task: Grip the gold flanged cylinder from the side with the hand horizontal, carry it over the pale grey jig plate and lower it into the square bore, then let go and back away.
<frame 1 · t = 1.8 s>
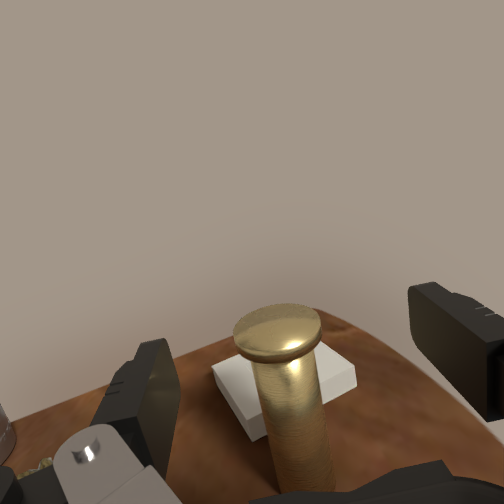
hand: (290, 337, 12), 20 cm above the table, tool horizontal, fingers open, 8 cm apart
jig: (282, 385, 39), on the table
gold flanged cylinder: (306, 481, 28), on the table
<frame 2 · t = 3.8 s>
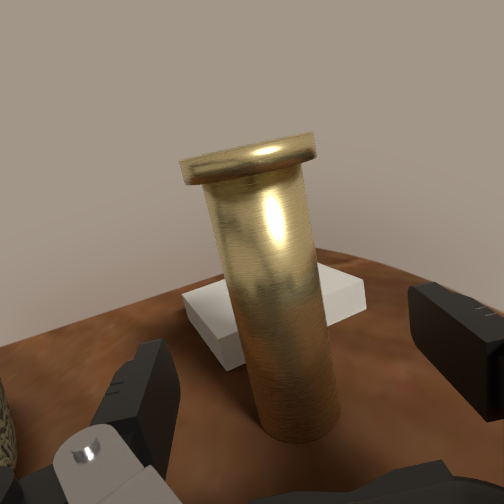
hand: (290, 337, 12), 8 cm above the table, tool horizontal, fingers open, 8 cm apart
jig: (270, 314, 31), on the table
gold flanged cylinder: (299, 409, 20), on the table
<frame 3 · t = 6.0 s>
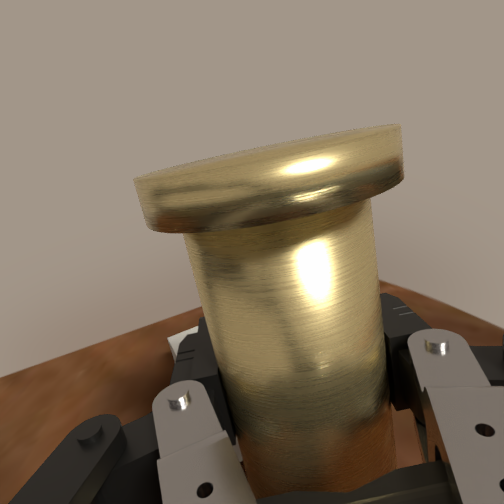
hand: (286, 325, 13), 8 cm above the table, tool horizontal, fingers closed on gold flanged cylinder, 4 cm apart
jig: (283, 367, 24), on the table
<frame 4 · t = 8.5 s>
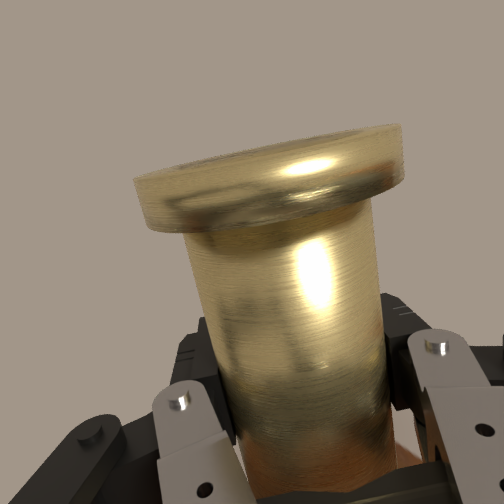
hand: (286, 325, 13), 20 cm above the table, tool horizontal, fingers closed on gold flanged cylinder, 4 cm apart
when the fingers open (9 cm above the table, at t = 11.2 s): gold flanged cylinder drops 1 cm, resting in jig.
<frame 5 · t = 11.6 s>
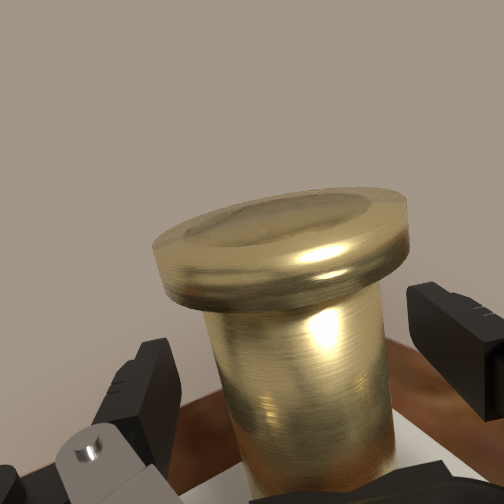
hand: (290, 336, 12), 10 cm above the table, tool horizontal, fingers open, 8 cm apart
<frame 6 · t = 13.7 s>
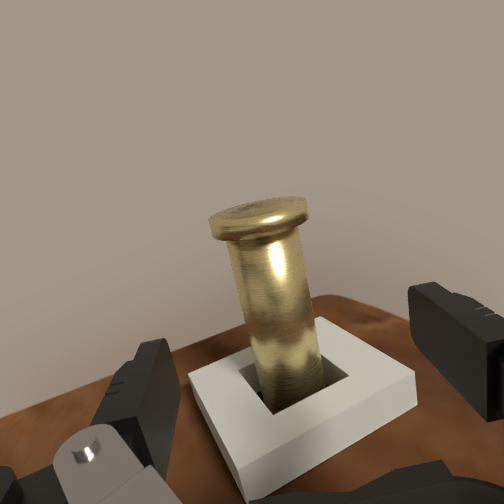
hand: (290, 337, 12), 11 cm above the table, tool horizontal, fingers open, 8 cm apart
jig: (296, 402, 25), on the table
gold flanged cylinder: (296, 403, 25), resting in jig
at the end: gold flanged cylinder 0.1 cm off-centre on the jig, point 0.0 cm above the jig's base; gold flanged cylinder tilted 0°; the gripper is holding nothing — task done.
